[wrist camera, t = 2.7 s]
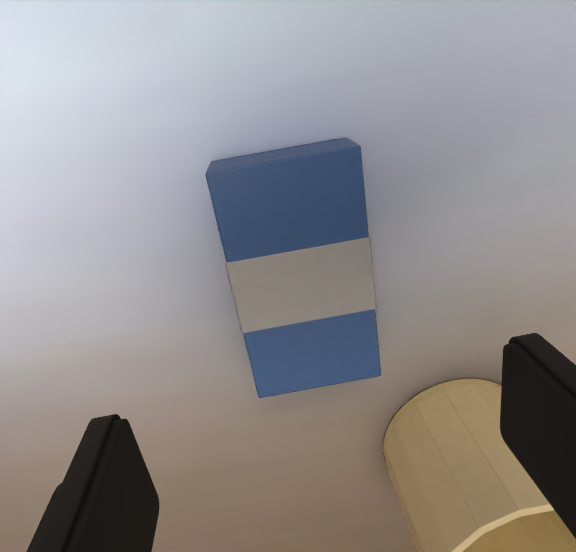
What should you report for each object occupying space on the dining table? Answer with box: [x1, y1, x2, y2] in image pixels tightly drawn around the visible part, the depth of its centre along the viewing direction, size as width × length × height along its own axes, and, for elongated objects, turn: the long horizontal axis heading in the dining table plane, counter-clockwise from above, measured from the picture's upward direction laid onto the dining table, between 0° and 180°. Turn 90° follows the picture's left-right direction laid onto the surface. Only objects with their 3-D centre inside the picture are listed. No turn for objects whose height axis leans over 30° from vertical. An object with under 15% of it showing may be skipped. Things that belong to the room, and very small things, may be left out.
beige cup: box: [383, 379, 576, 552], centre depth 21 cm, size 8×8×8 cm
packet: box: [206, 138, 381, 398], centre depth 19 cm, size 10×6×2 cm, turn 9°
